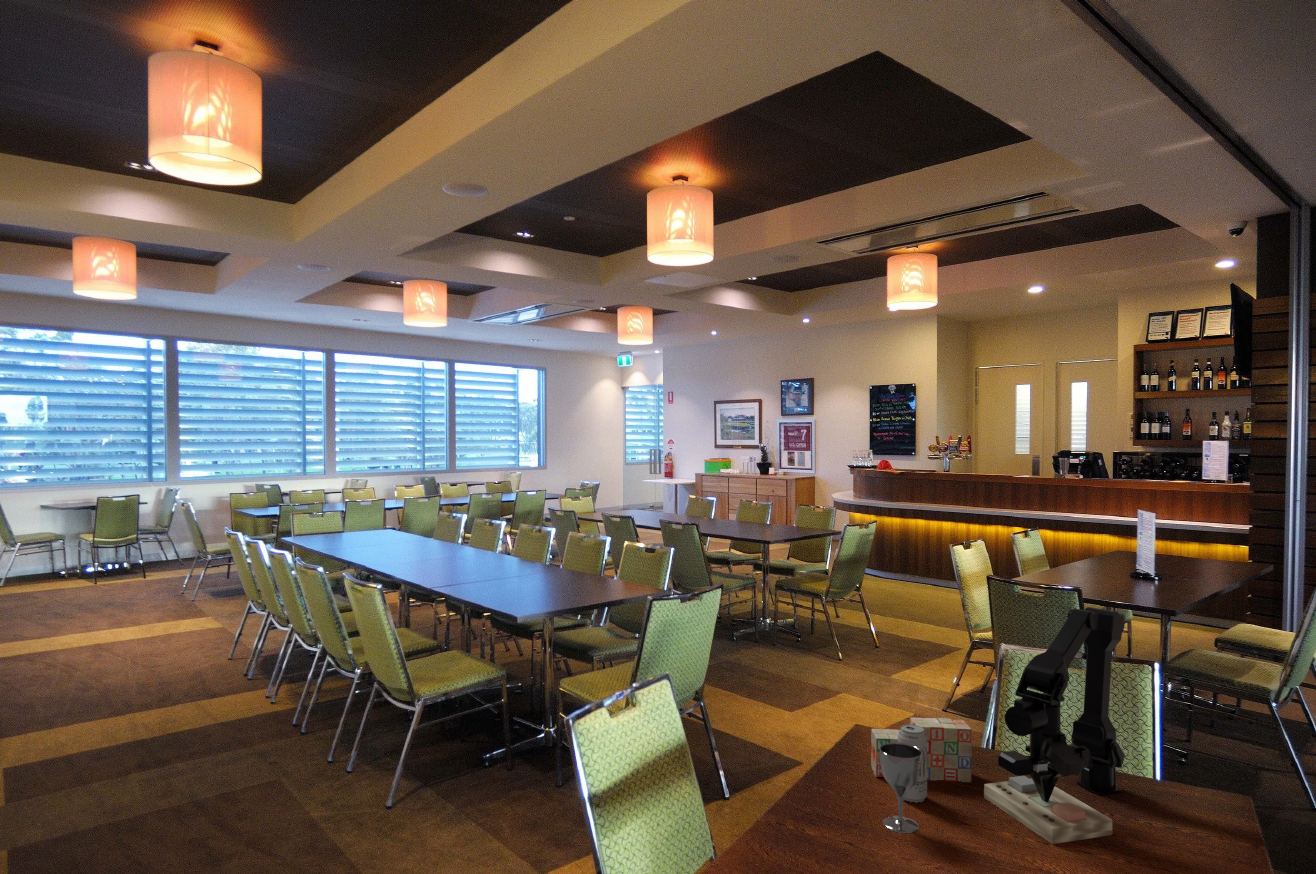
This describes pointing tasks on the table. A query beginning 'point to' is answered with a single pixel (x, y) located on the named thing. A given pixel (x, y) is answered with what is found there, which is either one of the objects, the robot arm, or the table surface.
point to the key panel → (1048, 814)
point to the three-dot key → (1022, 784)
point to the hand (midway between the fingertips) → (1045, 800)
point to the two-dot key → (1069, 812)
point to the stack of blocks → (934, 748)
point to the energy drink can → (918, 739)
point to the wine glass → (900, 779)
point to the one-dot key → (1044, 804)
